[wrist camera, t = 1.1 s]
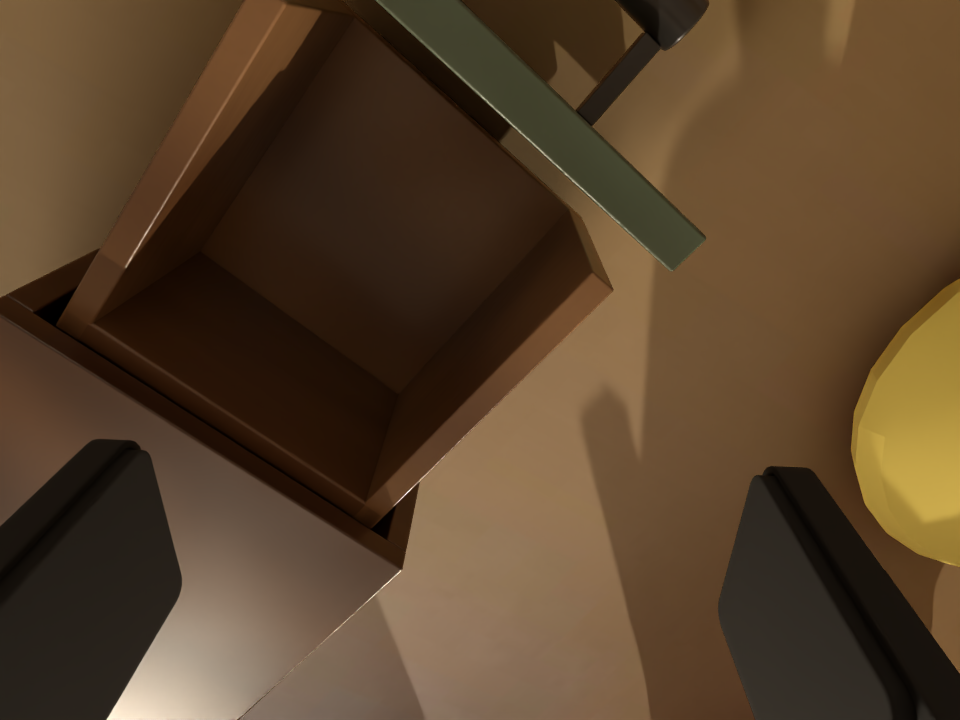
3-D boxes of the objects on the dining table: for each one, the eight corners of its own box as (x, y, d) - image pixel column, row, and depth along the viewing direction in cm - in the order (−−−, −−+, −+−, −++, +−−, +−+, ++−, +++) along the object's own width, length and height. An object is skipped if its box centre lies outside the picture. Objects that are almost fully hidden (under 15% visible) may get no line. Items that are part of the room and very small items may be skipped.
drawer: (456, -225, 18) (421, -412, 11) (736, 78, 21) (858, 96, 14) (169, 232, 25) (25, 313, 17) (418, 412, 28) (386, 545, 20)
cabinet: (170, 211, 25) (-17, 304, 16) (435, 405, 29) (403, 570, 20) (30, 439, 30) (-170, 605, 21) (268, 579, 34) (183, 771, 25)
